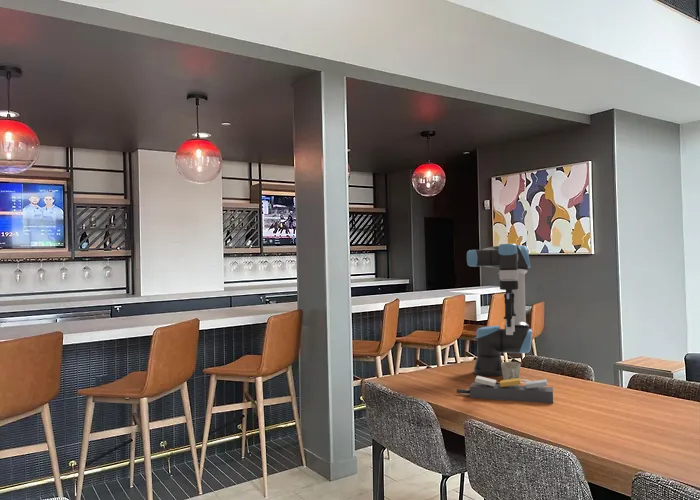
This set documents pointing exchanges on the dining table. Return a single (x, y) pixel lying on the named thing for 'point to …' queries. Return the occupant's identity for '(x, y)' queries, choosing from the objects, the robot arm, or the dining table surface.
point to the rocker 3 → (536, 383)
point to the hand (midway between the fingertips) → (510, 333)
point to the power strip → (510, 393)
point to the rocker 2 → (510, 382)
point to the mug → (510, 370)
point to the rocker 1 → (485, 381)
